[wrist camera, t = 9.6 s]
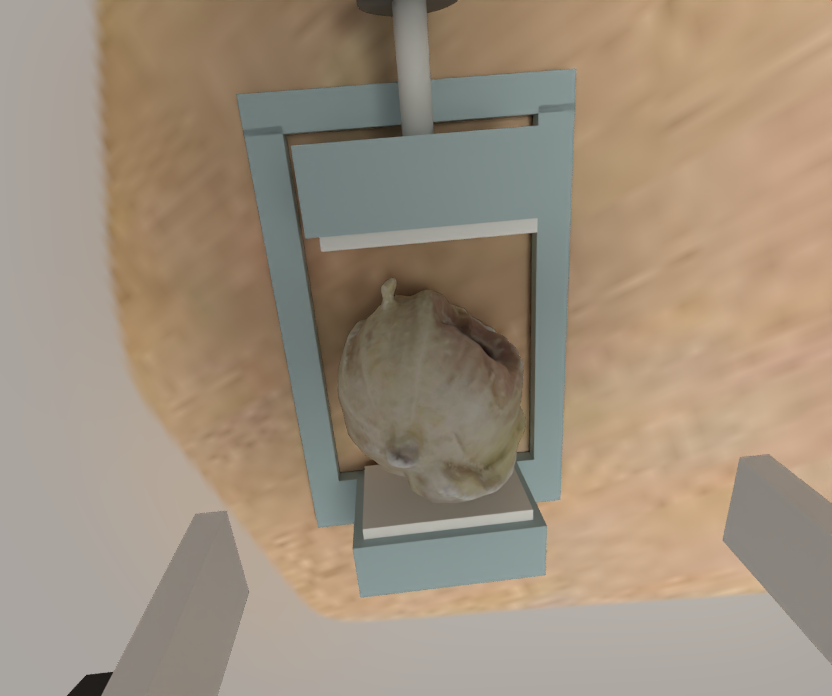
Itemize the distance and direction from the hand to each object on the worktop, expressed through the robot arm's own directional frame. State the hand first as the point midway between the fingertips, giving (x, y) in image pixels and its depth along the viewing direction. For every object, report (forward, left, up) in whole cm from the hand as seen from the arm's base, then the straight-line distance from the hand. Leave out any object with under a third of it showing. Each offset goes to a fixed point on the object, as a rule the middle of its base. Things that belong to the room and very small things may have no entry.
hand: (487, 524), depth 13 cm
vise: (-1, 0, -14) cm, 14 cm away
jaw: (-11, 0, -13) cm, 17 cm away
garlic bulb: (0, 0, -14) cm, 14 cm away
